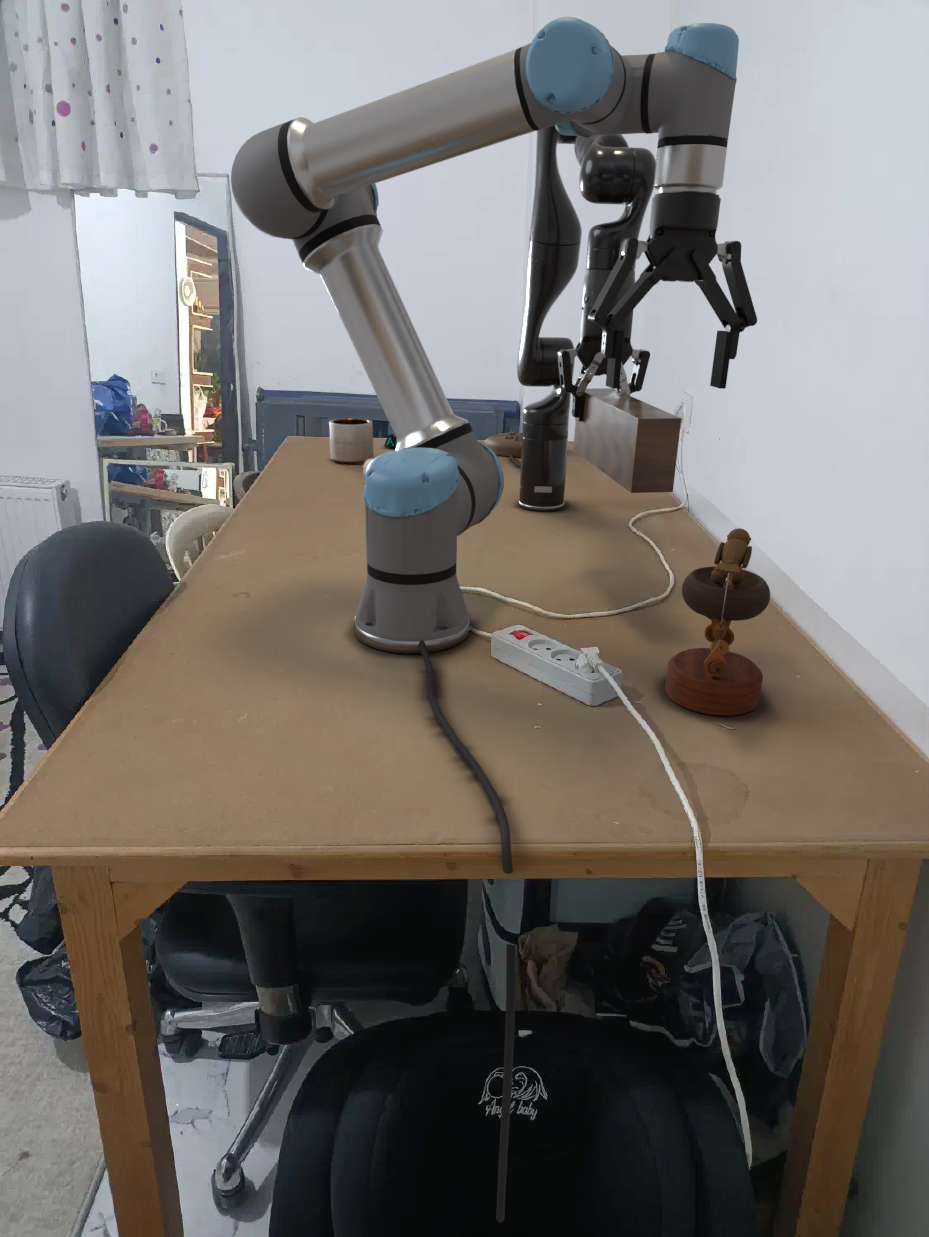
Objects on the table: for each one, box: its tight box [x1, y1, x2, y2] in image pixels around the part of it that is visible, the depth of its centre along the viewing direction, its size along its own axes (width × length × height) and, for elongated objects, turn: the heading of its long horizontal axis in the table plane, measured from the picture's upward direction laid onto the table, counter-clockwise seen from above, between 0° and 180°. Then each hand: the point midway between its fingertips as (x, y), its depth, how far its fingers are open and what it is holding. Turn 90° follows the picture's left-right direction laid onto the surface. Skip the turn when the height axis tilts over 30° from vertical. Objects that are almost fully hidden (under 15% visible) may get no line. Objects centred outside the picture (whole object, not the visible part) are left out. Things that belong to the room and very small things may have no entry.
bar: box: [572, 387, 682, 494], centre depth 120 cm, size 27×6×10 cm, turn 9°
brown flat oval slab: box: [483, 431, 522, 458], centre depth 222 cm, size 21×28×4 cm
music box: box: [664, 527, 771, 716], centre depth 94 cm, size 15×11×20 cm
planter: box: [328, 417, 375, 464], centre depth 212 cm, size 11×11×10 cm
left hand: (665, 387), depth 103 cm, fingers open, 13 cm apart
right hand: (598, 420), depth 129 cm, fingers closed on bar, 5 cm apart
